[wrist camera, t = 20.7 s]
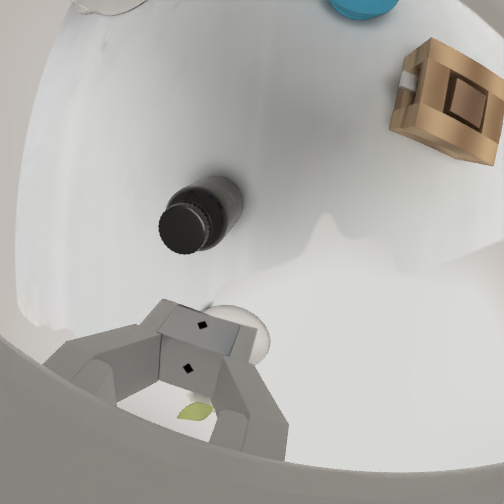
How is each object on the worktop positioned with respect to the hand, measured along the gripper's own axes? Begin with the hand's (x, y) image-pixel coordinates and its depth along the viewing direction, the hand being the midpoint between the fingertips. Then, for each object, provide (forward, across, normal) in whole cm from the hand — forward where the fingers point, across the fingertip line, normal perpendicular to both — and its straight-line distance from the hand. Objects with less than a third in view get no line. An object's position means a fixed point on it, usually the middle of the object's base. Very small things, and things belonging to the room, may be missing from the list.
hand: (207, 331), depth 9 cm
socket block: (+29, -16, -16) cm, 37 cm away
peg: (+29, -16, -16) cm, 37 cm away
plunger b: (+24, -11, -16) cm, 31 cm away
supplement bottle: (+29, +7, +4) cm, 30 cm away
